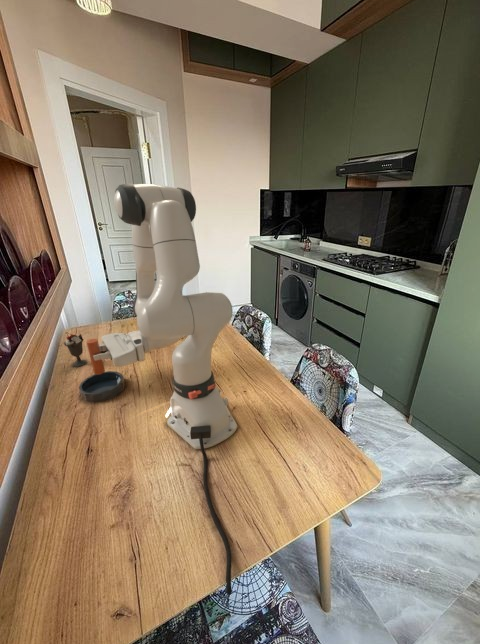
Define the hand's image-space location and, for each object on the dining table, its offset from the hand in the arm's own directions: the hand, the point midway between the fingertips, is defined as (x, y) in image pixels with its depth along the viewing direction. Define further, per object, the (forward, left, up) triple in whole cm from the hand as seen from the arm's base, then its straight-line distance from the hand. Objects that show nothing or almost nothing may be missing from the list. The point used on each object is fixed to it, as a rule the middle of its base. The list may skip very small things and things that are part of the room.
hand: (92, 355), depth 96 cm
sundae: (+25, +3, -15) cm, 29 cm away
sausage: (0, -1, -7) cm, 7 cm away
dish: (0, -1, -15) cm, 15 cm away
